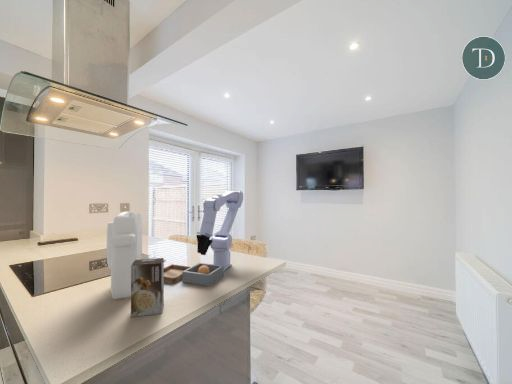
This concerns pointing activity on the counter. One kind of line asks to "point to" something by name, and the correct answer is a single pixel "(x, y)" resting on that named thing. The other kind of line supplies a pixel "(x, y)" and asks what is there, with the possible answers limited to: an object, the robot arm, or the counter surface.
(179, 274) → the tray
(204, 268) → the ball
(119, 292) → the white tall piece
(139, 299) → the coffee box
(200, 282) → the bin
